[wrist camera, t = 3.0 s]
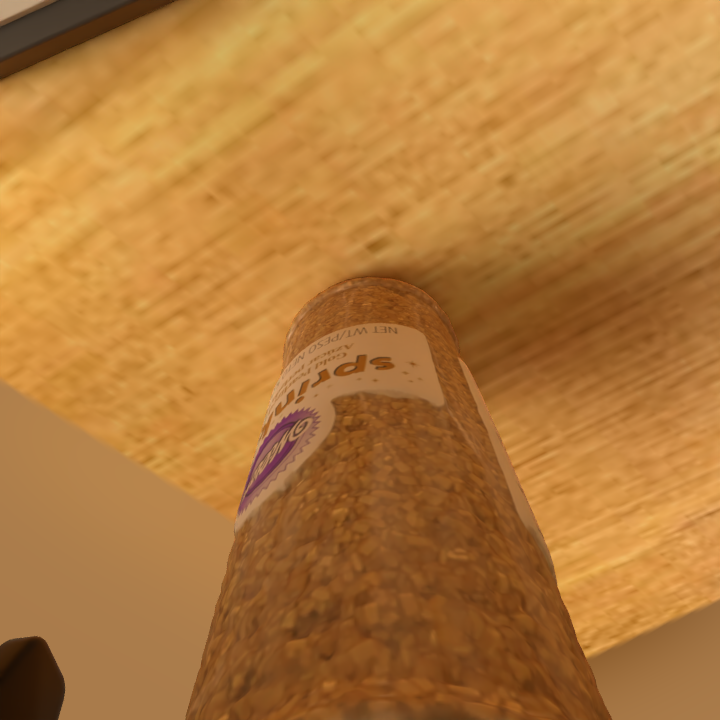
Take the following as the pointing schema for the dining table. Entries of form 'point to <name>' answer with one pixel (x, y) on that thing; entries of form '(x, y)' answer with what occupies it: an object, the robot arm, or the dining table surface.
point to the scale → (59, 26)
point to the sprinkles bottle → (386, 540)
